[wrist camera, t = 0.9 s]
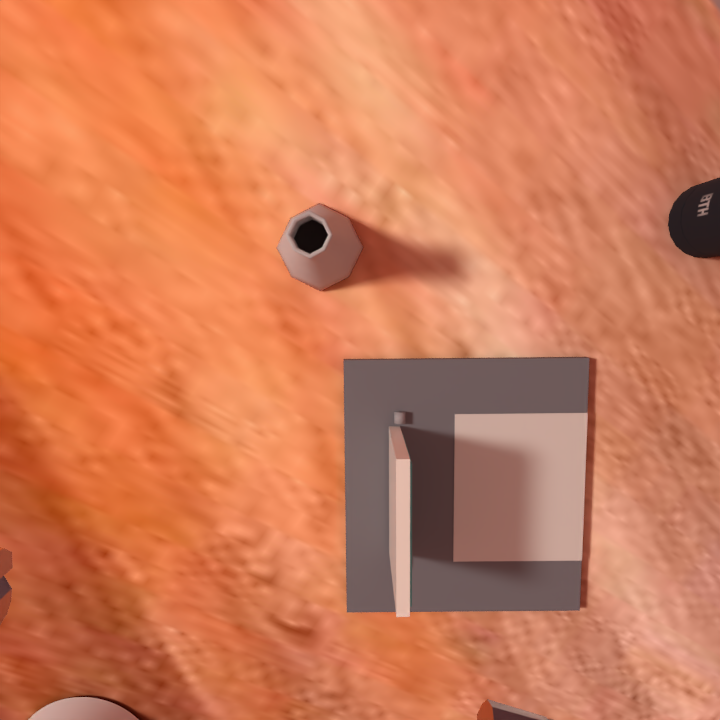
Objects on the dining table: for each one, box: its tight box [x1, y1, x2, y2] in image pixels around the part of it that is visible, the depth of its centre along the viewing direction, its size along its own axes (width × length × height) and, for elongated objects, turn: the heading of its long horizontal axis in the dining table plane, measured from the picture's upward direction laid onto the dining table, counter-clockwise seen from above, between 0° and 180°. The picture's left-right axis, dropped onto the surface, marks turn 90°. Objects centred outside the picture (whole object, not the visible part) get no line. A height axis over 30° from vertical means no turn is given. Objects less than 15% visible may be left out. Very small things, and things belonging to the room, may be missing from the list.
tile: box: [389, 426, 412, 617], centre depth 44 cm, size 12×1×10 cm, turn 0°
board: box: [344, 357, 589, 612], centre depth 49 cm, size 24×22×2 cm
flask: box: [277, 203, 363, 291], centre depth 43 cm, size 7×7×10 cm
